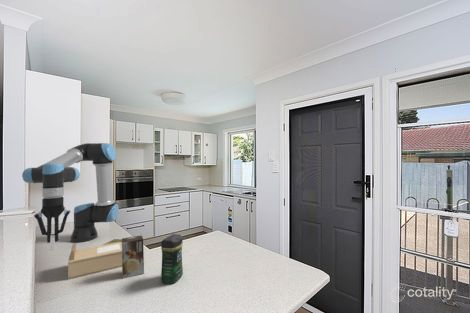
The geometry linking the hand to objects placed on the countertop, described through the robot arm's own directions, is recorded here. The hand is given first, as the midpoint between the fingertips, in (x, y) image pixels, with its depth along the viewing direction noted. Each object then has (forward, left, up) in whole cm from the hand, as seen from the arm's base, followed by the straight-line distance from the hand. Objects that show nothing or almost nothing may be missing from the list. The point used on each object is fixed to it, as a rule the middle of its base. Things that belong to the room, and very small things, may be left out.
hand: (52, 249), depth 101 cm
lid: (0, +19, -5) cm, 20 cm away
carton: (-20, +24, -13) cm, 34 cm away
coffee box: (+17, +31, -13) cm, 38 cm away
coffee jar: (+32, +45, -13) cm, 57 cm away
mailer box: (0, +19, -13) cm, 23 cm away
